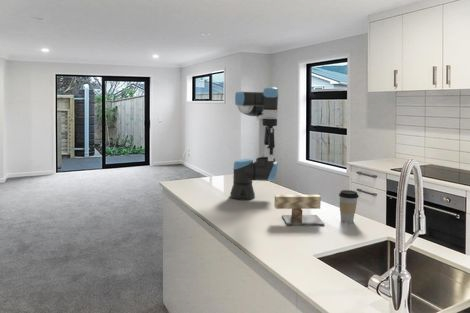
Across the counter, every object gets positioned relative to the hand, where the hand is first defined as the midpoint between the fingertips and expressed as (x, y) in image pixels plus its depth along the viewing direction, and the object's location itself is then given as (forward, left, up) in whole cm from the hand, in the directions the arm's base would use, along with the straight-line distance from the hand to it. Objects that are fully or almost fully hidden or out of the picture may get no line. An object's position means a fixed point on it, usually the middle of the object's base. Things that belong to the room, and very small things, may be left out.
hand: (268, 158), depth 198 cm
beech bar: (+20, -2, -22) cm, 30 cm away
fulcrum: (+22, 0, -29) cm, 36 cm away
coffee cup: (+38, +16, -29) cm, 50 cm away
